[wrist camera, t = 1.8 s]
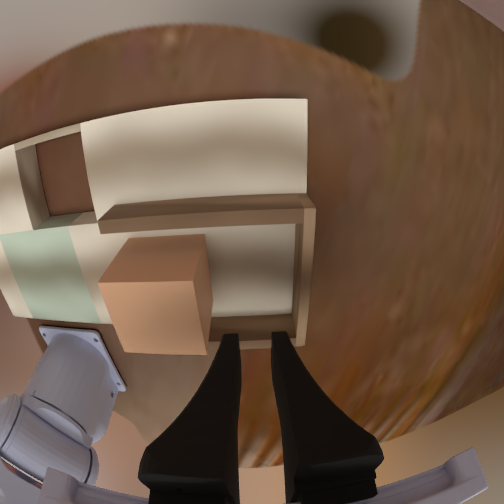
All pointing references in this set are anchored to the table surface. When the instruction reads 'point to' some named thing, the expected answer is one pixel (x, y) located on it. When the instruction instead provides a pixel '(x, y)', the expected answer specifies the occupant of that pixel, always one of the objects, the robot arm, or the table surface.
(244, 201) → the wooden frame
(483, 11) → the greeting card
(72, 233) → the plate
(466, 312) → the table surface
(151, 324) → the cube
